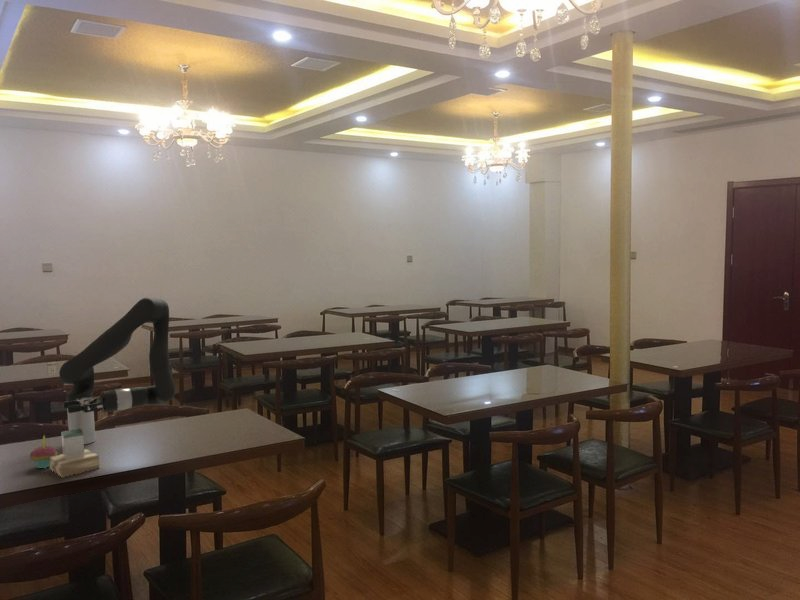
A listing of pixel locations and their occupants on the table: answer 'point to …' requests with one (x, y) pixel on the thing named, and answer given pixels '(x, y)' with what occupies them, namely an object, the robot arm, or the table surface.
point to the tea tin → (72, 444)
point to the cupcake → (43, 455)
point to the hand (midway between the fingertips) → (65, 407)
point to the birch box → (74, 464)
